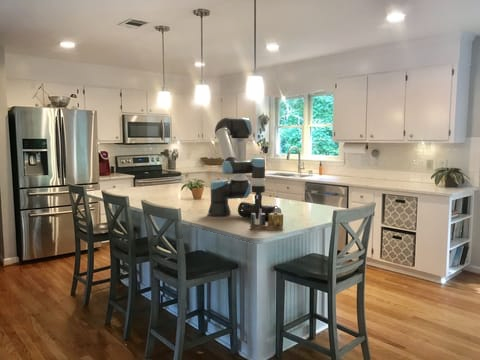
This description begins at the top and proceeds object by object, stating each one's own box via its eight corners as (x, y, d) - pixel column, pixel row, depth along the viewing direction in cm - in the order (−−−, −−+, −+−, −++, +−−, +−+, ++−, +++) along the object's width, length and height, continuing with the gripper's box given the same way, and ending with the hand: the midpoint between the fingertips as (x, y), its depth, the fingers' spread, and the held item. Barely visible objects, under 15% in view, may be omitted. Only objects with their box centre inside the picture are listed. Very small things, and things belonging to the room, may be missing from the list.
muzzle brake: (246, 216, 259) (246, 200, 258) (282, 221, 242) (282, 205, 241) (237, 218, 252) (237, 202, 251) (273, 224, 234) (273, 207, 233)
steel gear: (250, 225, 222) (250, 214, 222) (251, 222, 230) (251, 212, 230) (264, 225, 221) (264, 215, 221) (265, 222, 229) (265, 212, 229)
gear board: (250, 229, 221) (250, 213, 220) (252, 225, 232) (252, 210, 231) (282, 230, 219) (283, 214, 218) (283, 225, 230) (283, 210, 229)
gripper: (263, 188, 211) (263, 226, 213) (266, 182, 235) (266, 217, 238) (249, 187, 212) (249, 226, 214) (253, 182, 236) (253, 217, 238)
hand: (258, 221), depth 226 cm, fingers open, 13 cm apart
